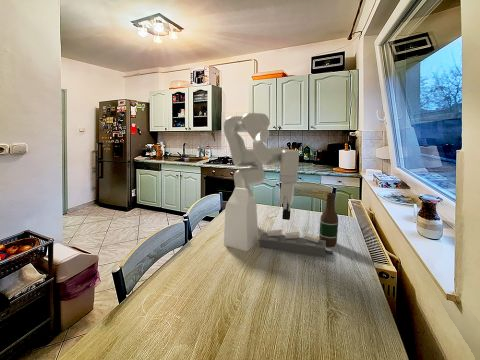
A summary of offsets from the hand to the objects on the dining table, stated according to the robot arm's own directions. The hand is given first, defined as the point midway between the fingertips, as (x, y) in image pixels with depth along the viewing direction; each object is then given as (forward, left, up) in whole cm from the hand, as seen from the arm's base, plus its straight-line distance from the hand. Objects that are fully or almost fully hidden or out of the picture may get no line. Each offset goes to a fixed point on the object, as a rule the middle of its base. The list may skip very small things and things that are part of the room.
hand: (286, 218), depth 112 cm
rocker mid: (+3, 0, -8) cm, 8 cm away
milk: (-20, -4, -13) cm, 24 cm away
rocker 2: (+11, 0, -8) cm, 13 cm away
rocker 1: (-5, 0, -8) cm, 9 cm away
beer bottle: (+18, +8, -13) cm, 24 cm away
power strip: (+5, -2, -13) cm, 14 cm away
